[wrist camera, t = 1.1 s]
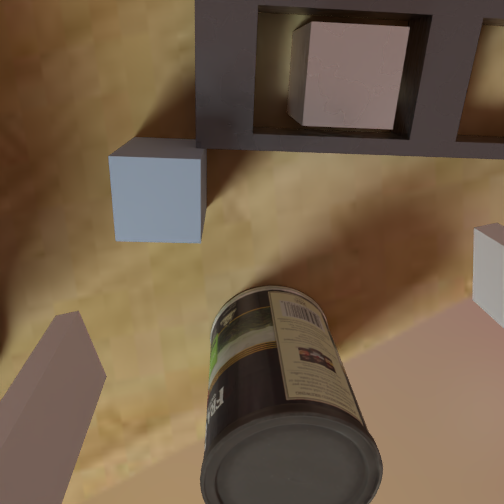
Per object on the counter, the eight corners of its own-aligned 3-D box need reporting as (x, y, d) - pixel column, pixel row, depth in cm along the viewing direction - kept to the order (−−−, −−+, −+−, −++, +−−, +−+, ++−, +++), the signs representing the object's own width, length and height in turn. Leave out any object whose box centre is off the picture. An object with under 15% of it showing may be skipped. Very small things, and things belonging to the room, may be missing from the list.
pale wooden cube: (286, 113, 30) (302, 125, 23) (292, 32, 28) (311, 21, 21) (357, 116, 30) (392, 129, 23) (368, 36, 28) (409, 26, 21)
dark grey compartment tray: (199, 139, 30) (195, 148, 27) (198, -10, 26) (194, -21, 23) (605, 154, 32) (647, 164, 29) (655, 17, 28) (710, 10, 25)
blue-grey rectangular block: (138, 206, 32) (115, 241, 25) (134, 136, 30) (108, 156, 23) (206, 207, 32) (200, 243, 26) (206, 139, 30) (200, 159, 24)
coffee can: (212, 386, 39) (203, 547, 26) (208, 285, 35) (195, 416, 22) (325, 383, 39) (372, 539, 26) (334, 283, 35) (395, 409, 22)
